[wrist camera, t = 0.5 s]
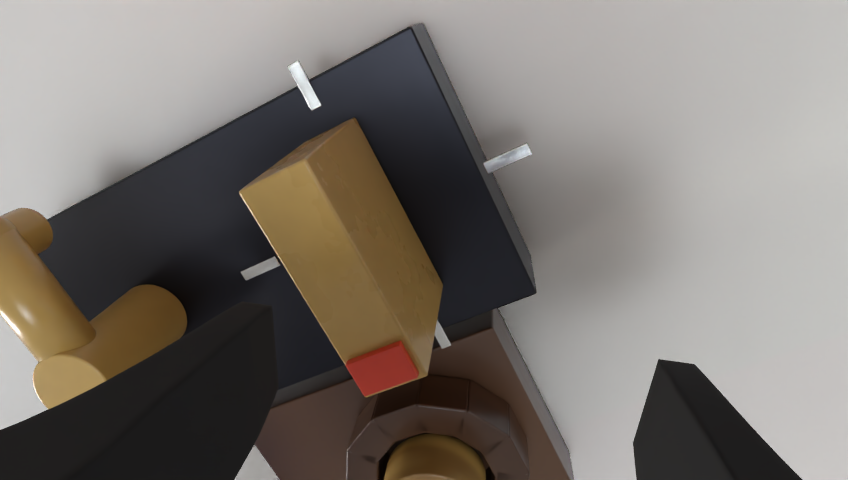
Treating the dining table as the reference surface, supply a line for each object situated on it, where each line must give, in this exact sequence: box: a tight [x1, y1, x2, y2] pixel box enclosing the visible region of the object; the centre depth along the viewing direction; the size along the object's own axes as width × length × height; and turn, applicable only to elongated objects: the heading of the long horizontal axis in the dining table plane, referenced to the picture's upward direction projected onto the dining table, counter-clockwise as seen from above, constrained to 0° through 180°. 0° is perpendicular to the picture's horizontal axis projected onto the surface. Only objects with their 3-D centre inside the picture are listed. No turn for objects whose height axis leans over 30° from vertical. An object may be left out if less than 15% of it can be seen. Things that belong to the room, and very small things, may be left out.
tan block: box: [239, 118, 443, 397], centre depth 16 cm, size 6×2×5 cm, turn 26°
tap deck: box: [38, 23, 536, 390], centre depth 20 cm, size 18×10×3 cm, turn 116°
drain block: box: [255, 308, 574, 480], centre depth 23 cm, size 11×8×4 cm
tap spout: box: [0, 208, 187, 409], centre depth 18 cm, size 2×7×4 cm, turn 27°
